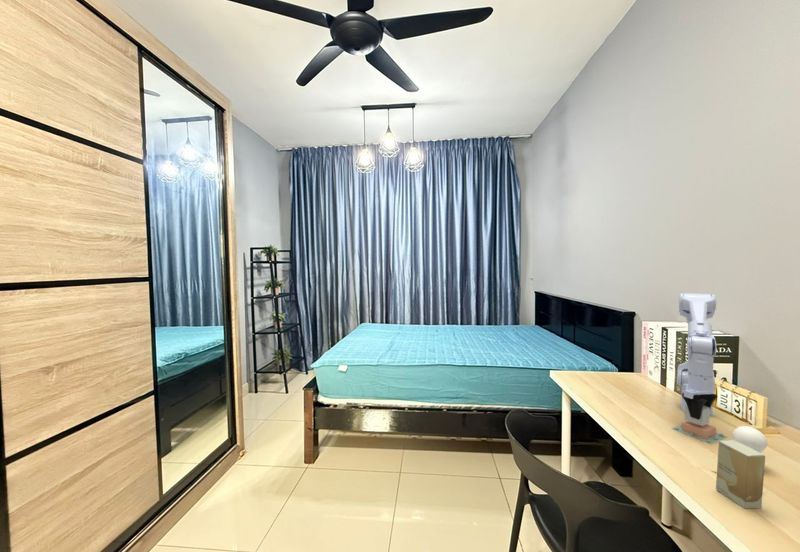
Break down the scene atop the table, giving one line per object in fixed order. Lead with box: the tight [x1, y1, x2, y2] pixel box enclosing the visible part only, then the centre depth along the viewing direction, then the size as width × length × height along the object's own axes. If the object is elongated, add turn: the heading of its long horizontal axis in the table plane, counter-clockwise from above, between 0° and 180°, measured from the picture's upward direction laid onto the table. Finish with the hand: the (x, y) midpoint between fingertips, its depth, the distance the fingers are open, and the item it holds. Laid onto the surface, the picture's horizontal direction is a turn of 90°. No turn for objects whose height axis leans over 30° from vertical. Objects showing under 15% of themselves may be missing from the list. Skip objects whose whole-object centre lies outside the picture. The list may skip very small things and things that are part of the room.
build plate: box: [671, 424, 728, 445], centre depth 100 cm, size 10×10×1 cm
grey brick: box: [684, 404, 711, 426], centre depth 100 cm, size 4×4×5 cm
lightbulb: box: [732, 425, 768, 454], centre depth 83 cm, size 6×6×11 cm
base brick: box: [681, 420, 717, 439], centre depth 100 cm, size 6×6×2 cm
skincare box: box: [715, 439, 766, 510], centre depth 72 cm, size 6×4×12 cm
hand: (699, 416), depth 100 cm, fingers closed on grey brick, 4 cm apart
